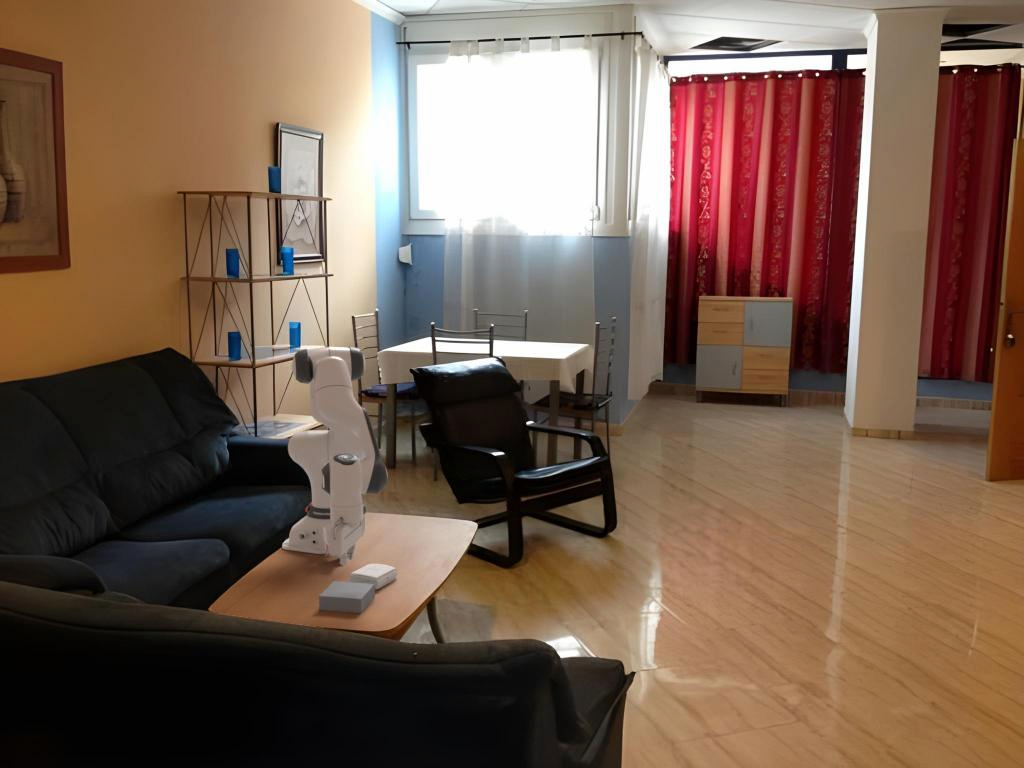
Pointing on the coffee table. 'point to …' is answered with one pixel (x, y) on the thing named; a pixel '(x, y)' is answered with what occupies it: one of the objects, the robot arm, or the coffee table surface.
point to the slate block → (347, 597)
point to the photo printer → (374, 575)
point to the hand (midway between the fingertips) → (347, 561)
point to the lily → (326, 549)
